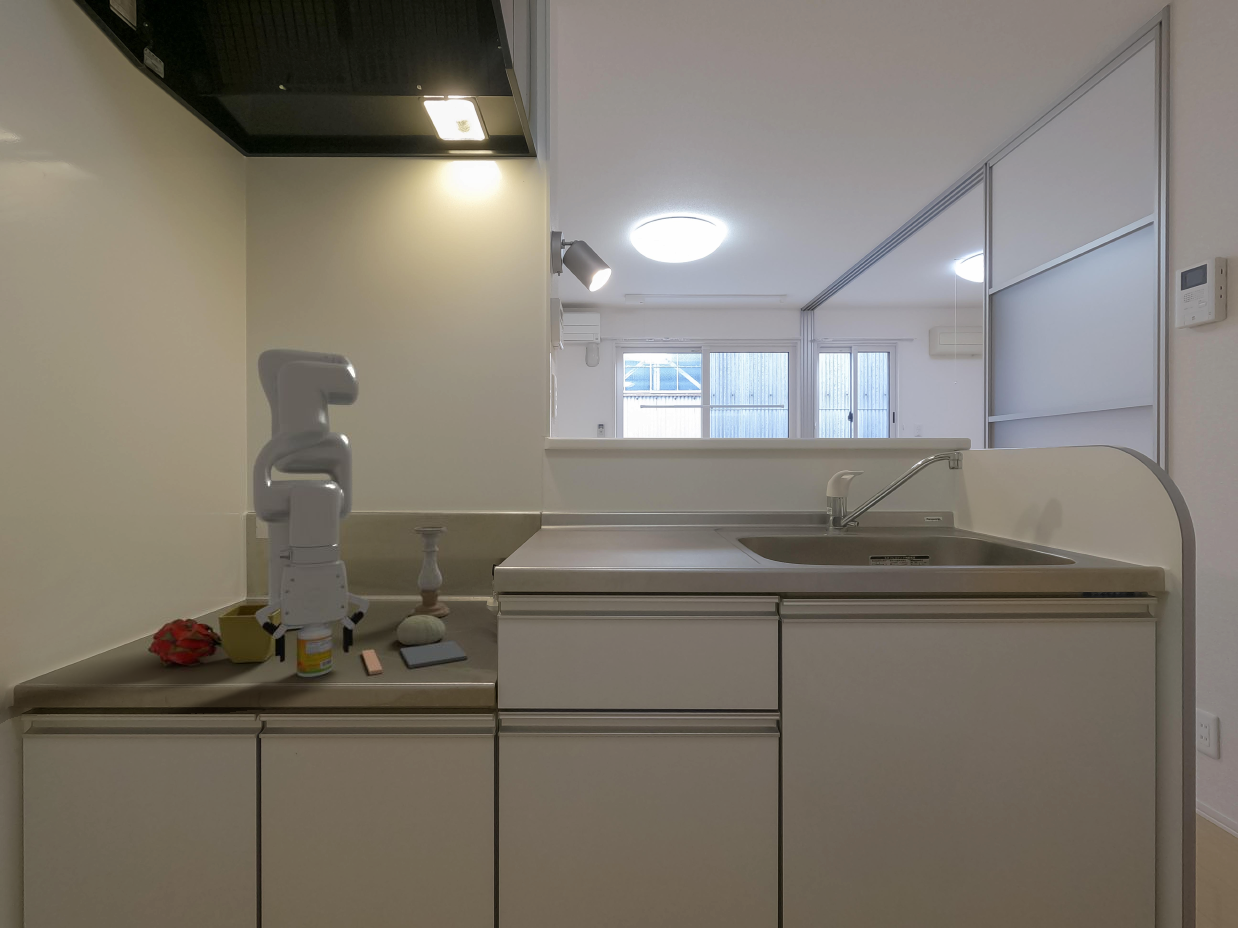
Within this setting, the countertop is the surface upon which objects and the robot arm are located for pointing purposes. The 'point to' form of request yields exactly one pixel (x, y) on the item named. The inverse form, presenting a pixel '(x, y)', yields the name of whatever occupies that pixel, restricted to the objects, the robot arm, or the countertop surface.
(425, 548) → the candle holder
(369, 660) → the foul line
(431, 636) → the sea urchin shell
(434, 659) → the pad
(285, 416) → the robot arm
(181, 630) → the dragon fruit
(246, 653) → the flower pot
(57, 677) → the countertop surface
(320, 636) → the supplement bottle
